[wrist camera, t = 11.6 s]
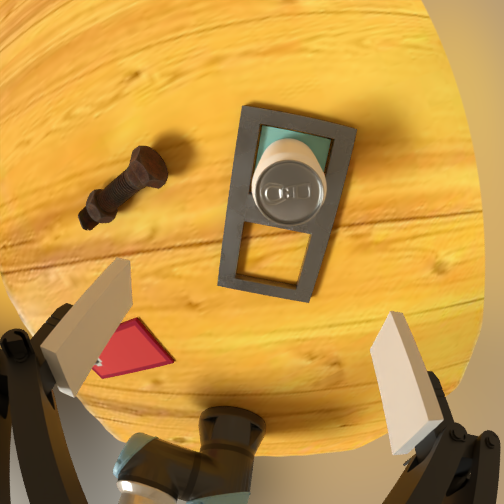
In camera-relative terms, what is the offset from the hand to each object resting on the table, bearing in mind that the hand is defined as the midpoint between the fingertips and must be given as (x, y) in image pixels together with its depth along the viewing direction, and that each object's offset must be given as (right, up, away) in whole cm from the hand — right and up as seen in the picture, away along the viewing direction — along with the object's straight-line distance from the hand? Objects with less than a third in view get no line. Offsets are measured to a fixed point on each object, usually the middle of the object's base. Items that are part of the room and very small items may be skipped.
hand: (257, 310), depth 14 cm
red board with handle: (-31, -17, +41) cm, 54 cm away
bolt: (-18, +12, +24) cm, 32 cm away
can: (+4, +13, +20) cm, 24 cm away
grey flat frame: (+3, +8, +23) cm, 25 cm away
